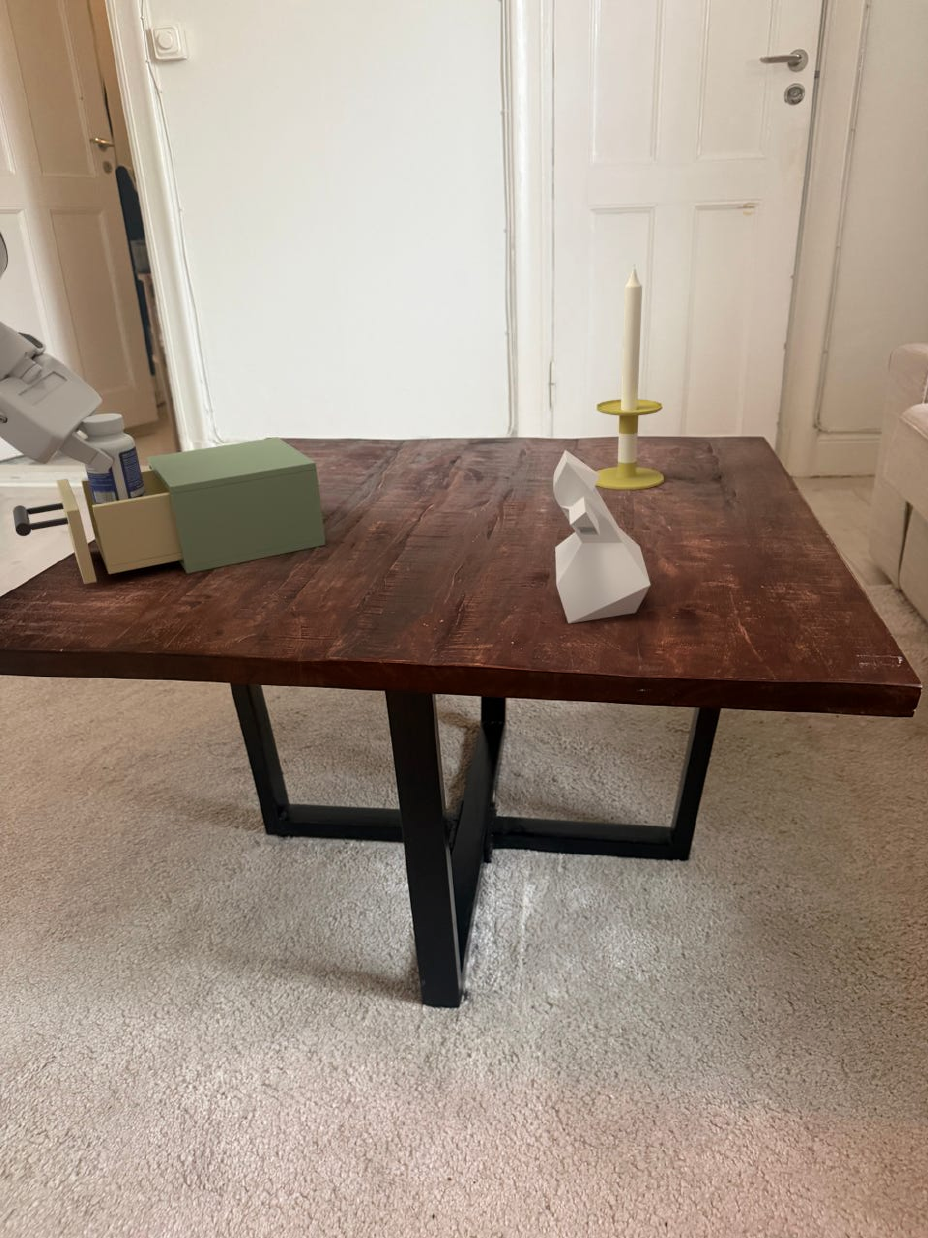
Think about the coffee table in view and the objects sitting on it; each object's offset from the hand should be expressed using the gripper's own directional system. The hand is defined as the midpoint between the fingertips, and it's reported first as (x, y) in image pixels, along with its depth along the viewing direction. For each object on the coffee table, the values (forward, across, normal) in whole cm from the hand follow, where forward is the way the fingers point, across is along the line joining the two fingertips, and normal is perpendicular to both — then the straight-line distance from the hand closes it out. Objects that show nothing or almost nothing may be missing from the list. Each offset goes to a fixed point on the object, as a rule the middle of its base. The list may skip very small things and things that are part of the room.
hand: (116, 458), depth 91 cm
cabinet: (+16, +4, 0) cm, 16 cm away
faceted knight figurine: (+40, -24, -24) cm, 53 cm away
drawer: (+7, 0, +9) cm, 11 cm away
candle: (+52, +13, -35) cm, 64 cm away
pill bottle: (+4, 0, +4) cm, 6 cm away
